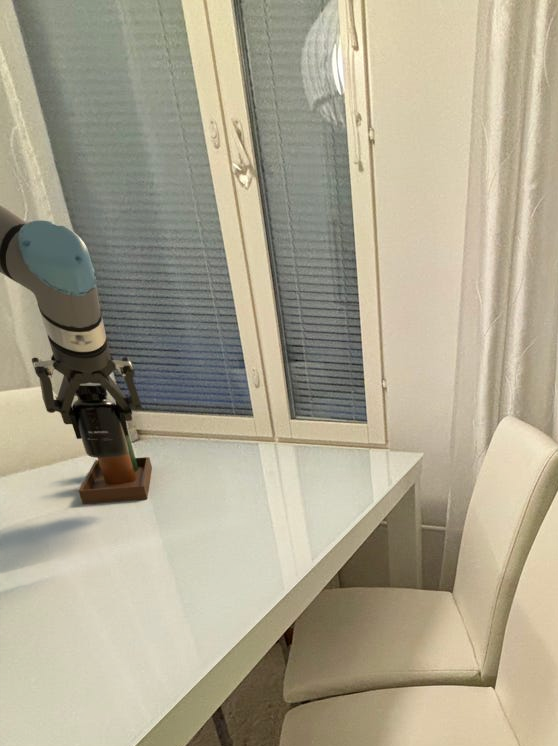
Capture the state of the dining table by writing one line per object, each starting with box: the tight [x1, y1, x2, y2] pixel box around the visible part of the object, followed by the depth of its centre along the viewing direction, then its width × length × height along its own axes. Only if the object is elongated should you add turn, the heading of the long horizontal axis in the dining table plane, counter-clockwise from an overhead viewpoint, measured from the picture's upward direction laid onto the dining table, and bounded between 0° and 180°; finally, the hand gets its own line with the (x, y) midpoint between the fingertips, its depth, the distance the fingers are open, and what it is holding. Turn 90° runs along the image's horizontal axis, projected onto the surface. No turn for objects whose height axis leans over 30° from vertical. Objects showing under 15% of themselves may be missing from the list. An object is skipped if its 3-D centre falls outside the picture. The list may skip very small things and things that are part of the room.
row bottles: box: [97, 428, 138, 484], centre depth 122 cm, size 6×16×12 cm, turn 26°
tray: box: [77, 456, 153, 505], centre depth 120 cm, size 11×29×3 cm, turn 26°
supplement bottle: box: [72, 383, 129, 459], centre depth 99 cm, size 7×7×12 cm
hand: (101, 430), depth 102 cm, fingers closed on supplement bottle, 7 cm apart
